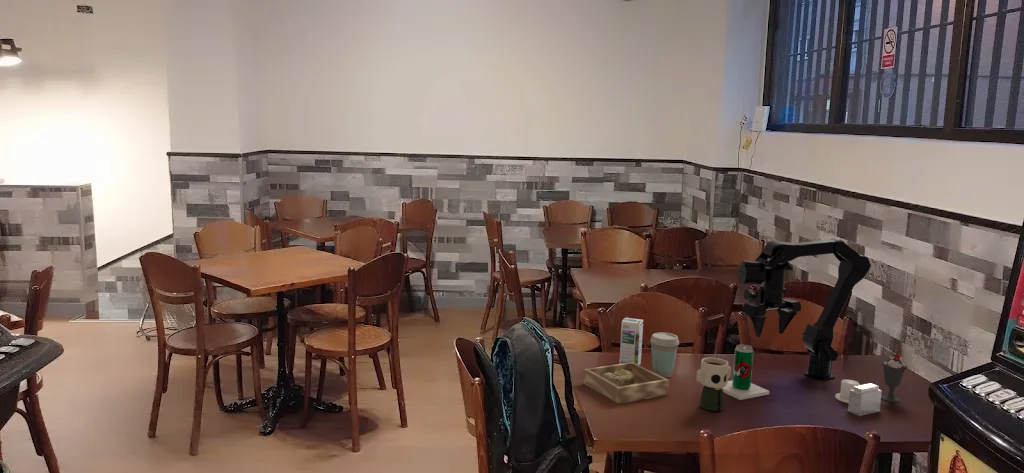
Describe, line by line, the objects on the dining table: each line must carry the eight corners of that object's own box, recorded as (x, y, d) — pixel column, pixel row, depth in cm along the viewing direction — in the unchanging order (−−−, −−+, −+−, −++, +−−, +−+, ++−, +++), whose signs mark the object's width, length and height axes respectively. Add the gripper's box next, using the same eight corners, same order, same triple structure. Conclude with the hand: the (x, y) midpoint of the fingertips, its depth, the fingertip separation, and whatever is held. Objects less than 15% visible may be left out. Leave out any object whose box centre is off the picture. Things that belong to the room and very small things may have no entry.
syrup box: (618, 366, 234) (621, 320, 232) (623, 361, 240) (625, 316, 237) (636, 369, 232) (639, 323, 230) (641, 363, 238) (643, 318, 235)
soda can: (754, 389, 215) (757, 348, 213) (740, 391, 213) (743, 350, 211) (742, 383, 219) (745, 343, 218) (728, 385, 217) (731, 344, 215)
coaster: (741, 382, 223) (741, 378, 223) (769, 394, 214) (769, 391, 214) (712, 387, 218) (712, 383, 218) (739, 400, 209) (740, 396, 209)
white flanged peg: (846, 393, 217) (848, 376, 216) (867, 401, 211) (869, 384, 210) (829, 397, 214) (831, 380, 213) (850, 405, 208) (852, 388, 207)
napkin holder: (867, 407, 207) (870, 382, 206) (879, 411, 204) (882, 386, 202) (847, 411, 203) (850, 386, 202) (859, 416, 200) (862, 390, 199)
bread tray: (631, 375, 226) (632, 361, 225) (668, 394, 211) (669, 380, 210) (583, 383, 218) (584, 369, 218) (617, 403, 203) (618, 388, 203)
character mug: (703, 415, 197) (706, 367, 195) (686, 406, 203) (689, 359, 201) (736, 410, 201) (740, 363, 199) (719, 401, 208) (723, 355, 206)
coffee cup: (677, 380, 223) (679, 341, 221) (647, 377, 225) (650, 338, 223) (676, 371, 231) (679, 333, 230) (648, 368, 233) (650, 330, 231)
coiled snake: (642, 386, 217) (644, 369, 216) (623, 396, 209) (625, 378, 208) (613, 375, 223) (615, 358, 222) (593, 384, 216) (595, 366, 214)
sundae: (893, 405, 208) (899, 352, 206) (872, 397, 214) (877, 345, 212) (909, 401, 211) (915, 349, 209) (887, 393, 217) (893, 343, 215)
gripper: (776, 276, 236) (771, 325, 238) (730, 280, 227) (726, 331, 229) (804, 284, 226) (799, 334, 228) (758, 288, 217) (753, 341, 220)
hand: (769, 335), depth 227 cm, fingers open, 9 cm apart
